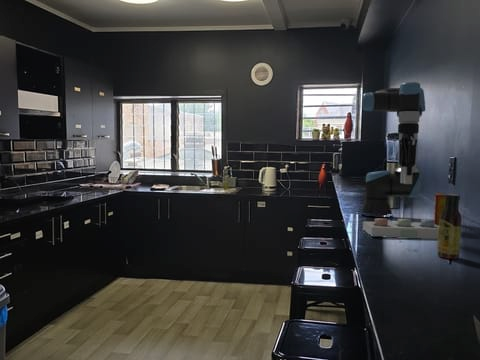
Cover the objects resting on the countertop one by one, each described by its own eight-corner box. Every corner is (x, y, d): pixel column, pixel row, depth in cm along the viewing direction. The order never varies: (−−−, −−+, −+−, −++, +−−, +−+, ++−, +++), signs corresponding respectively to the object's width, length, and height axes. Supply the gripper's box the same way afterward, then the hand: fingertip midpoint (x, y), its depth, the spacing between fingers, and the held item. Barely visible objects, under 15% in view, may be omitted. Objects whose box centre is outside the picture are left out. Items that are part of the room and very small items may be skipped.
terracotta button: (372, 225, 175) (373, 217, 175) (385, 225, 175) (385, 218, 175) (376, 227, 170) (376, 219, 170) (389, 227, 170) (389, 220, 170)
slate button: (418, 226, 175) (418, 219, 174) (431, 226, 174) (431, 219, 174) (423, 228, 170) (423, 221, 169) (436, 229, 169) (436, 221, 169)
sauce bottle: (433, 255, 140) (436, 193, 139) (451, 255, 141) (455, 193, 139) (444, 260, 133) (447, 195, 132) (464, 260, 134) (467, 195, 133)
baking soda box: (451, 233, 179) (453, 194, 178) (434, 232, 181) (436, 193, 180) (449, 230, 187) (451, 192, 186) (433, 229, 190) (434, 192, 189)
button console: (362, 231, 181) (362, 221, 181) (431, 232, 180) (431, 223, 180) (371, 237, 167) (372, 227, 167) (446, 239, 166) (447, 229, 166)
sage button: (395, 225, 175) (396, 218, 175) (408, 226, 175) (408, 218, 174) (399, 228, 170) (400, 220, 170) (412, 228, 170) (413, 220, 169)
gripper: (392, 124, 178) (389, 181, 180) (406, 121, 161) (403, 185, 163) (410, 124, 178) (408, 182, 179) (426, 121, 161) (423, 185, 163)
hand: (406, 183), depth 171 cm, fingers open, 4 cm apart
